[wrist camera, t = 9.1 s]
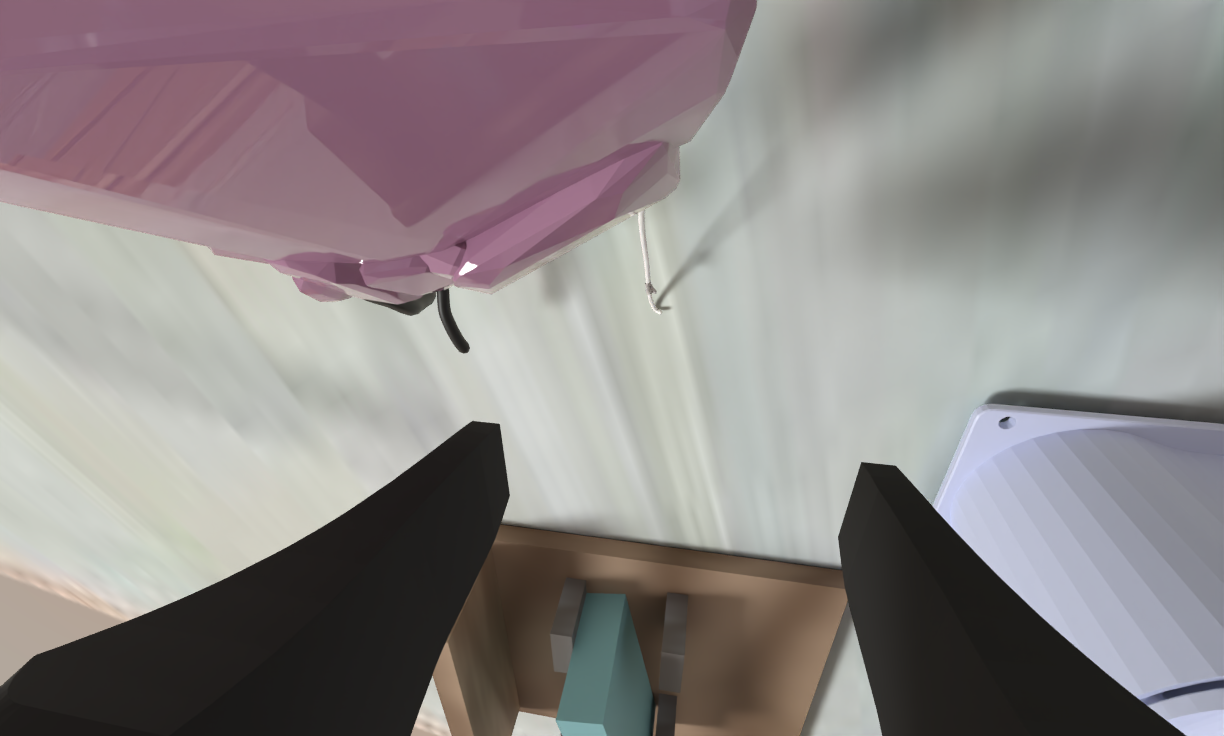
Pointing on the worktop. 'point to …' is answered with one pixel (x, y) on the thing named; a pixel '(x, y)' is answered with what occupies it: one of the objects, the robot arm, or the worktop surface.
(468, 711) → the board
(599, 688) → the door panel
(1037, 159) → the worktop surface
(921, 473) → the worktop surface
